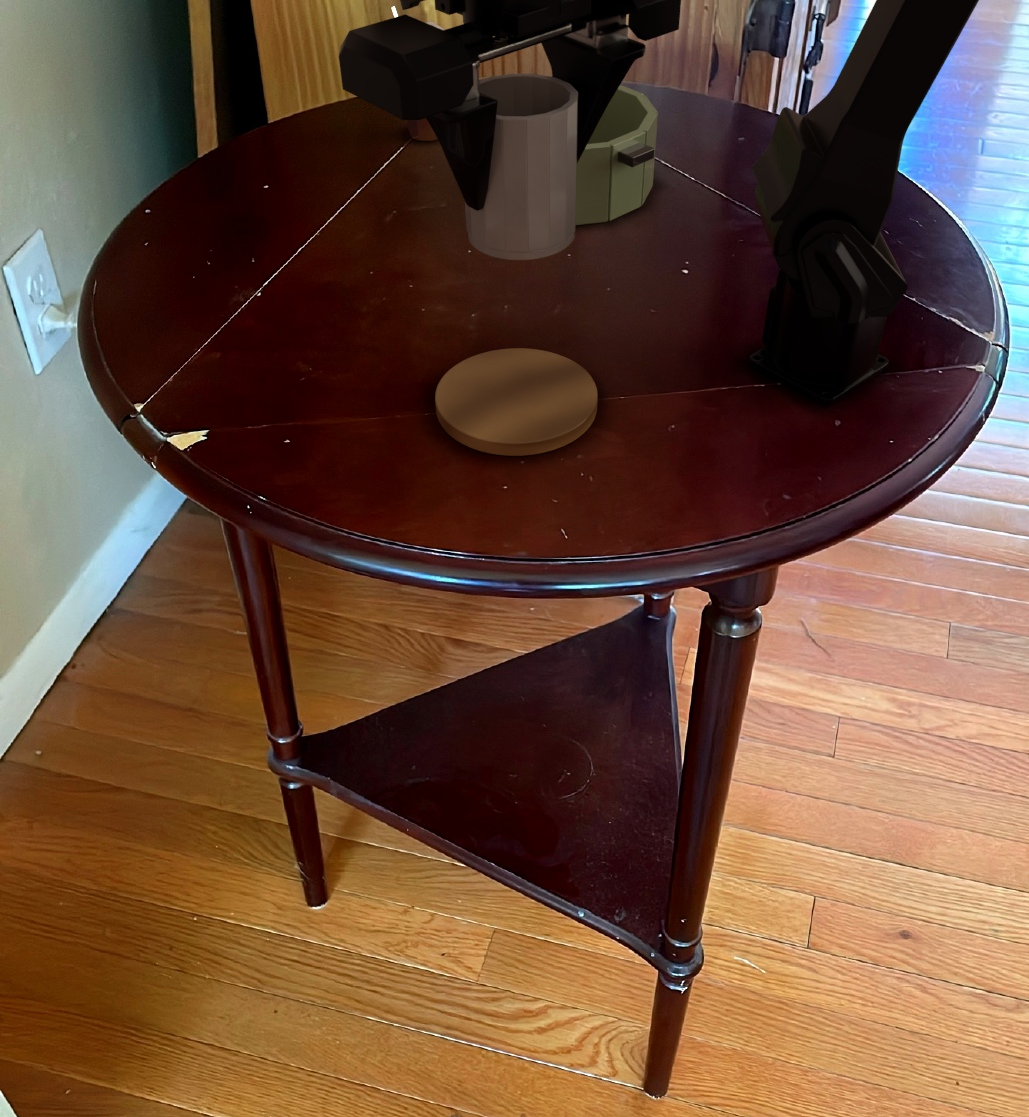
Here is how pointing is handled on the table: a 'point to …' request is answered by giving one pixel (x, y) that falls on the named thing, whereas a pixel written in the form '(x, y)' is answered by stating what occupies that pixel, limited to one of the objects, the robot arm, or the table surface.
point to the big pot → (617, 159)
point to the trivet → (516, 401)
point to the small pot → (529, 169)
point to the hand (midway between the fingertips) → (520, 188)
